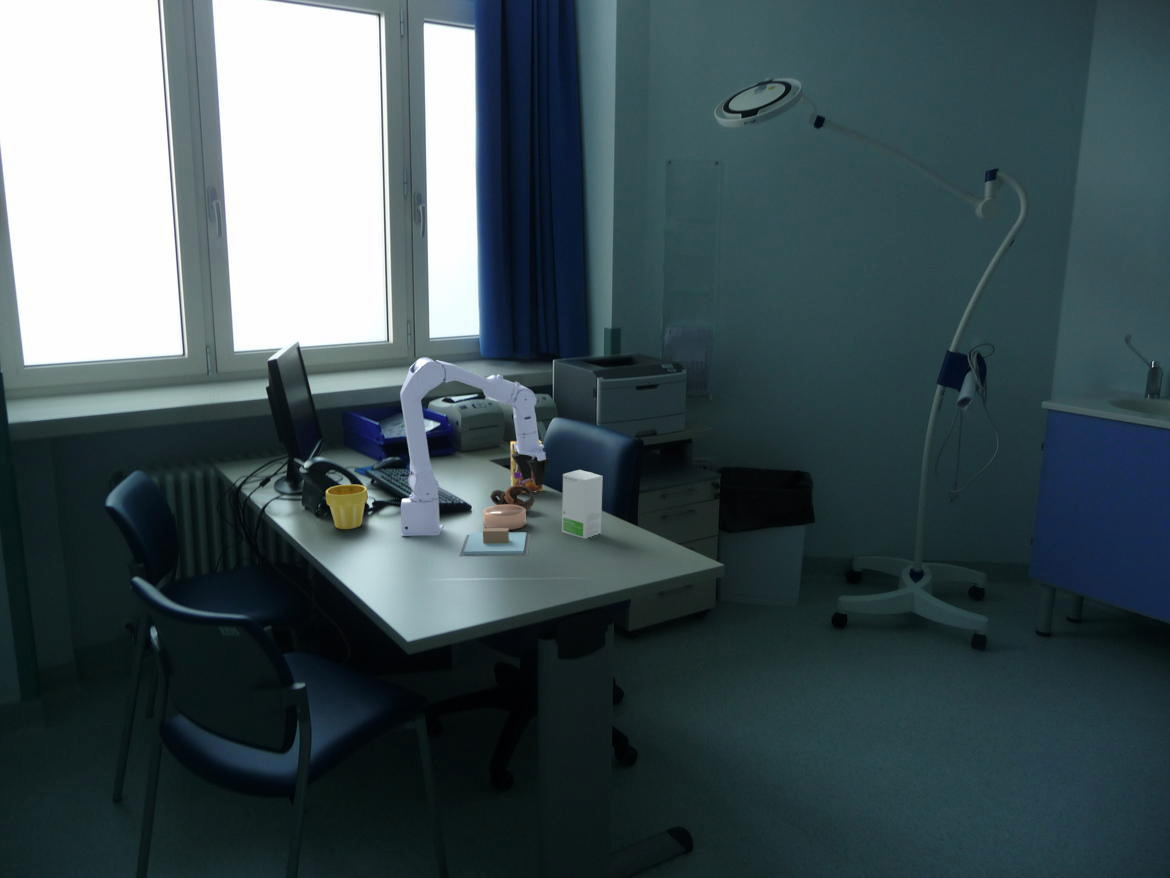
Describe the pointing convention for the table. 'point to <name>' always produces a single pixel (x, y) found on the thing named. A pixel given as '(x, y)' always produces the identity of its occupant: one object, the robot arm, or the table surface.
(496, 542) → the lid
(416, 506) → the robot arm
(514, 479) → the candy box
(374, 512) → the table surface
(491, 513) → the bowl
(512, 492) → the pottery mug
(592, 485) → the skincare box
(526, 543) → the mat
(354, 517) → the plant pot
